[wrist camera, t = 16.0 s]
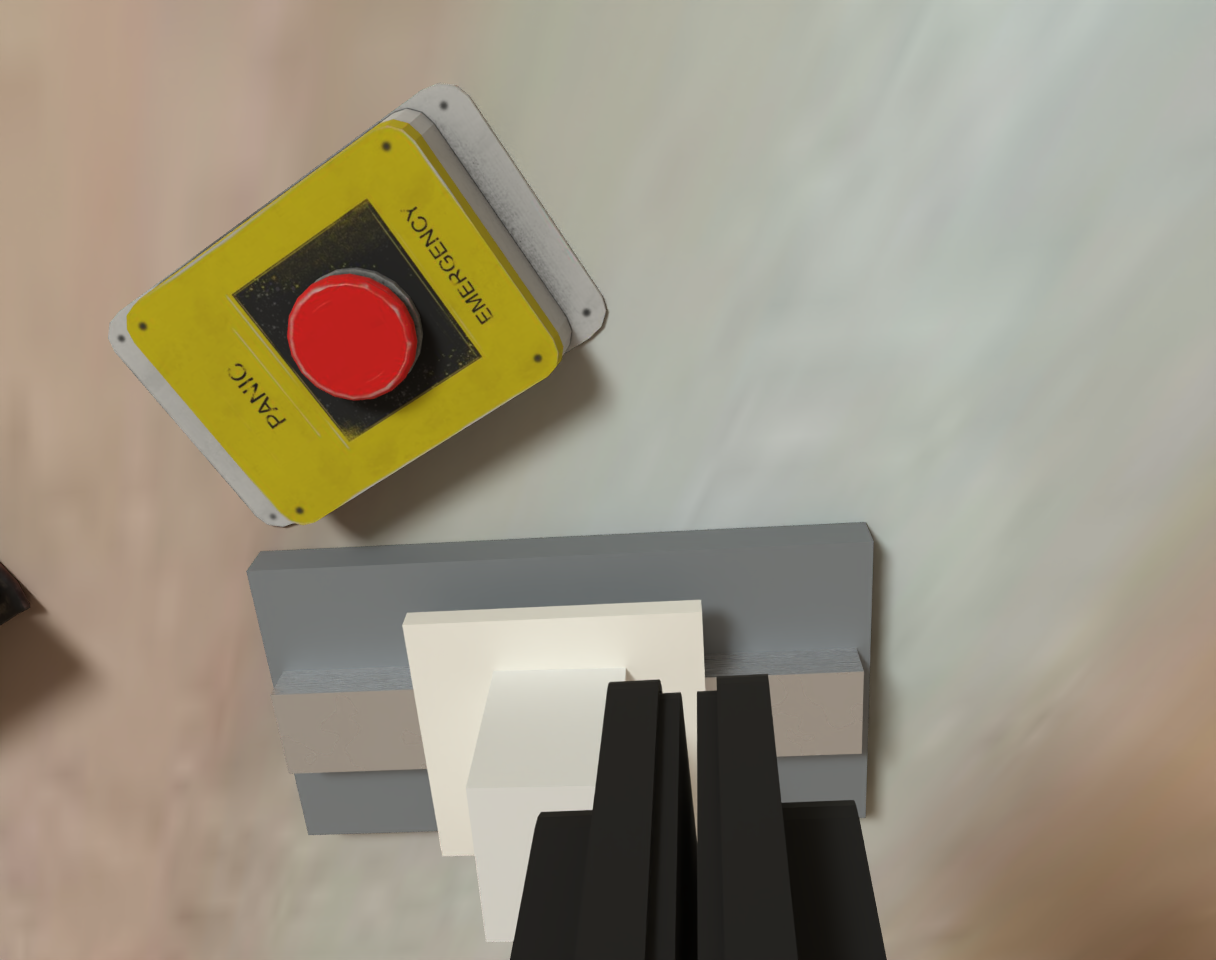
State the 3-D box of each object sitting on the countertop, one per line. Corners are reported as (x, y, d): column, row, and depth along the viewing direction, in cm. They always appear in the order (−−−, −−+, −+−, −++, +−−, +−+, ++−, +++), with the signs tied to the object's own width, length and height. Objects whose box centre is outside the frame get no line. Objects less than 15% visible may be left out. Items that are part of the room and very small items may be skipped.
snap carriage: (699, 578, 38) (702, 612, 36) (710, 825, 42) (713, 869, 40) (416, 590, 38) (402, 625, 36) (455, 833, 43) (446, 876, 41)
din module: (625, 667, 37) (620, 785, 31) (633, 811, 39) (630, 944, 34) (493, 670, 37) (465, 788, 31) (509, 813, 39) (486, 945, 34)
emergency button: (615, 354, 32) (237, 588, 36) (619, 315, 36) (279, 529, 40) (427, 76, 29) (36, 363, 33) (454, 66, 33) (103, 323, 37)
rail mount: (865, 522, 38) (882, 562, 36) (858, 791, 43) (872, 845, 41) (260, 551, 40) (231, 592, 37) (319, 809, 45) (297, 862, 42)
